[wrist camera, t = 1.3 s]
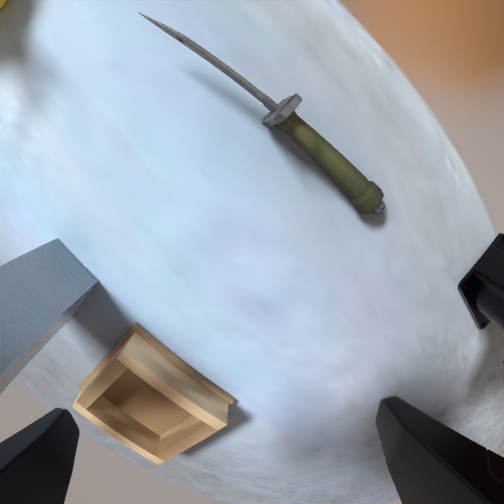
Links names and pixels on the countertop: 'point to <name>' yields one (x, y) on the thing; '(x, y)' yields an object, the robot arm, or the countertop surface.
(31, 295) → the post
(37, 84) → the countertop surface
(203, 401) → the dock
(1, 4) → the teapot
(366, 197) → the knife
